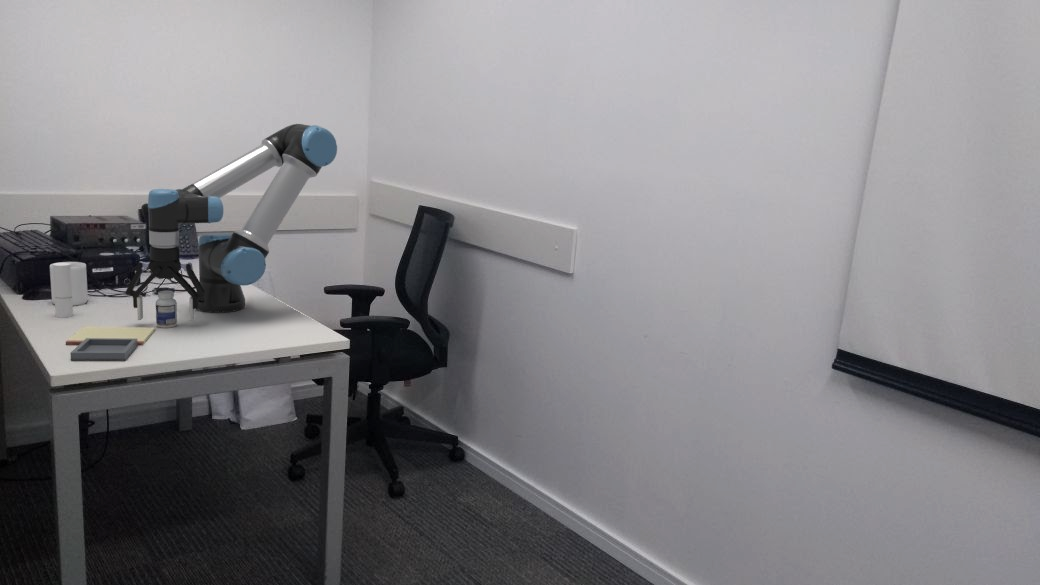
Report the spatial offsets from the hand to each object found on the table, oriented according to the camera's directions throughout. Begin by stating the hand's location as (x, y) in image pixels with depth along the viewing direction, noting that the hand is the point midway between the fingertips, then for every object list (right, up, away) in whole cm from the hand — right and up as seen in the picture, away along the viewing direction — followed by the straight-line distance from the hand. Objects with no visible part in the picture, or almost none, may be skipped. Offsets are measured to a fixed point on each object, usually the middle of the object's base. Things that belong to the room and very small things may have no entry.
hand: (166, 319), depth 219 cm
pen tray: (-3, -7, -26) cm, 27 cm away
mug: (-37, +5, +17) cm, 41 cm away
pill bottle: (0, -2, 0) cm, 2 cm away
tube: (-30, +1, +2) cm, 30 cm away
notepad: (-8, -4, -13) cm, 16 cm away
